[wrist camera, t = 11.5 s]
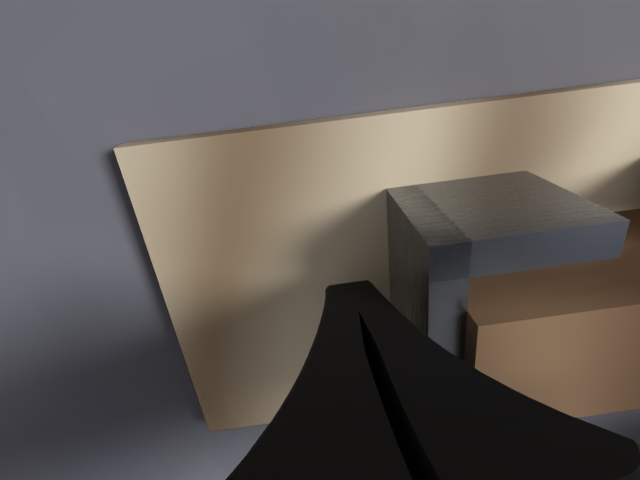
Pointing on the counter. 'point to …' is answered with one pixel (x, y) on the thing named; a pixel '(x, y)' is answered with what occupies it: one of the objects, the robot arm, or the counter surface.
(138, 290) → the counter surface
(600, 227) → the bracket
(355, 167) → the board
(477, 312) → the slat
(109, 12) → the counter surface
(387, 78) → the counter surface
